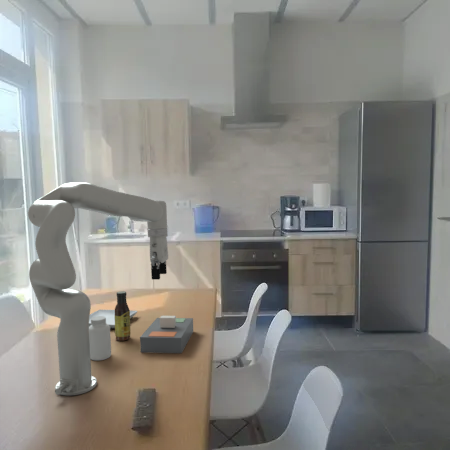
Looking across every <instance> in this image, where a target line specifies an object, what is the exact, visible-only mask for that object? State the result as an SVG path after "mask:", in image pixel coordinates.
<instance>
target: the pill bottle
mask: <svg viewBox="0 0 450 450" xmlns="http://www.w3.org/2000/svg"><path fill="white" fill-rule="evenodd" d="M91 324H92V325H91V326H90V327H89V341H90V359H91V360H92V361H103V360H107V359H109V358H110V357H111V356H112V342H111V341H112V340H111V339H112V337H111V328H110V326H109V325H108V324H107V323H106V318H105V317H104V316H97V317H93V318H91Z"/></svg>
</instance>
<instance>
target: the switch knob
mask: <svg viewBox="0 0 450 450" xmlns="http://www.w3.org/2000/svg"><path fill="white" fill-rule="evenodd" d="M159 318H160V328H175V326H176V318H177V316H176V315H160V316H159Z"/></svg>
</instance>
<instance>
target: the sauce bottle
mask: <svg viewBox="0 0 450 450" xmlns="http://www.w3.org/2000/svg"><path fill="white" fill-rule="evenodd" d="M116 299H117V301H116V305H115V307H114V310H115V328H114V335H115V340H116V341H120V342H124V341H128V340H129V339H131V318H130V310H131V309H130V308H129V305H128V302H127V291H124V290H123V291H117V292H116Z"/></svg>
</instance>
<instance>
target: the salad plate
mask: <svg viewBox="0 0 450 450" xmlns="http://www.w3.org/2000/svg"><path fill="white" fill-rule="evenodd" d="M129 310H130V319H131V318H133V317H134V316H135V315H136V314H137V313H138V310H131V309H129ZM97 316H104V317H105V318H106V323H107V324H108V325H109V326H110V329H115V309H98V310H96V311H94V312H92V313H90V316H89V327H90V326H91V325H92V324H91V318H93V317H97Z"/></svg>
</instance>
